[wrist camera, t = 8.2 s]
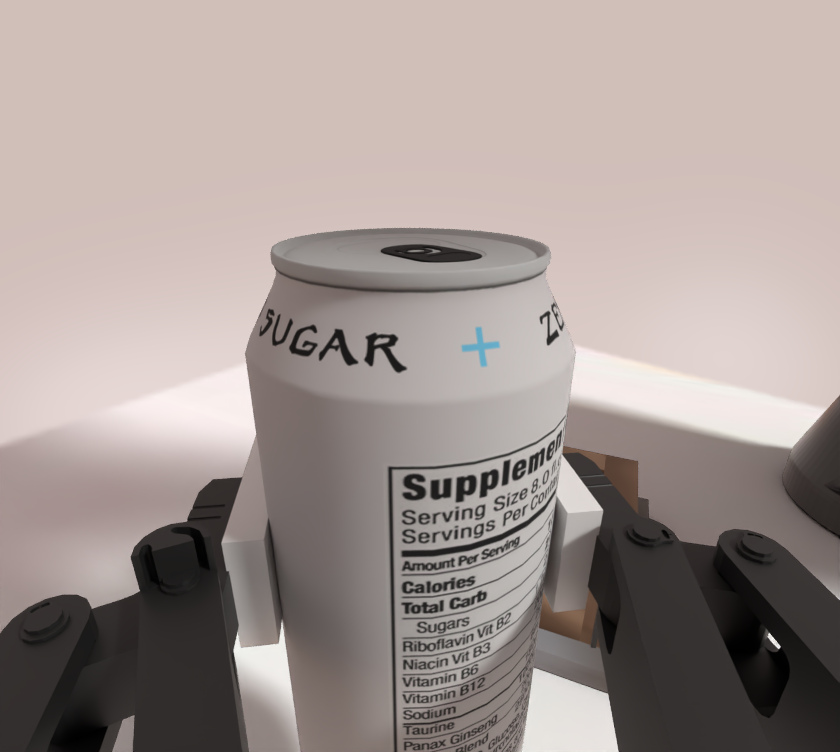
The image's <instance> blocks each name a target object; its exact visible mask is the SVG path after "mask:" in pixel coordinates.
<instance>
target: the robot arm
mask: <svg viewBox="0 0 840 752" xmlns="http://www.w3.org/2000/svg"><path fill="white" fill-rule="evenodd" d="M783 483H784V486H785V488H786V490H787V492H788V493H789V495H790V496H791V497H792V499H793V500H794V501H795V502H796V503H797V504H798V505H799V506H800V507H801V508H802V509H803V510H804V511H805V512H806V513H807V514H809V515H810V516H811V517H812V518H814V519H815V520H816V521H818V522H819V523H820V524H822V525H823V526H825V527H826V528H828V529H829V530H831V531H832V532H834V533H836V534H837V535H839V536H840V396H839V397H838V398H837V399H836V400H835V401H834V402H833V403H832V404H831V406H830V407H829V408H828V409H827V410H826V411H825V412H824V413H823V414H822V416H821V417H820V418H819V419H818V420H817V421H816V422H815V423H814V424H813V426H812V427H811V428H810V429H809V430H808V431H807V432H806V433H805V434H804V436H803V437H802V438H801V439H800V440H799V441H798V442H797V443H796V444H795V446H794V447H793V449H792V450H791V453H790V455H789V458H788V461H787V464H786V467H785V470H784V472H783ZM131 560H132V564H133V567H134V571H135V574H136V578H137V582H138V585H139V589H140V591H139V592H138V593H136V594H134V595H132V596H129V597H127V598H124V599H122V600H118V601H115V602H112V603H109V604H106V605H103V606H100V607H97V608H94V609H91V606H90V604H89V602H88V600H87V599H86V598H83V597H81V596H79V595H60V596H56V597H52V598H48V599H45V600H43V601H41V602H39V603H37V604H35V605H32V606H30V607H28V608H27V609H26V610H24V611H23V612H21V613H20V614H19V615H17V616H16V617H15V618H13V619H12V620H11V621H10V623H9V624H8V625H7V626H6V627H5V628H4V629H3V630H2V632H1V633H0V752H112V750H113V747H114V744H115V741H116V738H117V735H118V732H119V729H120V726H121V723H122V720H123V719H125V718H128V717H130V716H133V715H135V718H134V739H133V752H249V749H248V743H247V736H246V729H245V722H244V716H243V709H242V702H241V695H240V689H239V682H238V675H237V668H236V662H235V657H234V652H233V649H234V645H235V640H236V636H237V631H238V635H239V640H240V646H241V648H243V647H252V646H261V645H270V644H279V637H280V630H281V622H282V611H281V604H280V597H279V590H278V583H277V575H276V568H275V561H274V554H273V546H272V539H271V532H270V525H269V517H268V513H267V507H266V499H265V492H264V485H263V478H262V471H261V463H260V456H259V449H258V442H257V435H256V437H255V440H254V443H253V446H252V449H251V453H250V456H249V459H248V462H247V465H246V468H245V471H244V474H243V477H241V478H227V479H213V480H212V481H211V482H210V483H209V484H208V485H206V486H205V487H204V488H203V489H202V490H201V491H200V492H199V493H198V496H197V498H196V500H195V503H194V505H193V510H191V512H190V514H189V516H188V521H187V522H183V523H176V524H170V525H167V526H165V527H162V528H159V529H156V530H155V531H153V532H152V533H150V534H148V535H147V536H145V537H144V538H143V539H142V540H141V541H140V542H139V543H138V544H137V545H136V546H135V547H134V550H133V552H132V555H131ZM589 590H590V592H591V593H592V595H593V597H594V599H595V600H596V602H597V604H598V607H597V612H596V617H595V622H594V627H593V632H592V637H591V648H596V645H597V640H599V645H600V651H601V656H602V662H603V667H604V673H605V678H606V684H607V689H608V695H609V700H610V706H611V711H612V717H613V722H614V728H615V733H616V739H617V744H618V750H619V752H840V600H839V599H838V598H837V597H836V596H835V595H833V594H832V593H831V592H830V591H829V590H828V589H827V588H826V587H825V586H824V585H823V584H822V583H821V582H820V581H819V580H818V579H817V578H816V577H815V576H814V575H813V574H811V573H810V572H809V571H808V570H807V569H806V568H805V567H804V566H803V565H802V564H801V563H800V562H799V561H798V560H797V559H796V558H795V557H794V556H793V555H792V554H791V553H790V552H788V551H787V550H786V549H785V548H784V547H782V546H781V545H780V544H778V543H777V542H776V541H774V540H772V539H770V538H768V537H766V536H764V535H762V534H759V533H756V532H752V531H748V530H739V529H733V530H728V531H725V532H724V533H722V534H721V535H720V536H719V539H718V543H717V546H716V547H715V546H708V545H700V544H693V543H687V542H682V541H679V539H678V538H677V537H676V535H675V534H674V533H673V531H671V530H670V529H669V528H667V527H666V526H665V525H663V524H661V523H659V522H657V521H654V520H652V519H649V518H644V517H640V516H639V515H638V514H637V513H636V512H635V510H634V509H633V508H632V507H631V506H630V504H629V503H628V502H627V501H626V500H625V498H624V497H623V496H622V495H621V494H620V492H619V491H618V490H617V489H616V487H615V486H612V483H611V481H610V480H609V479H608V478H607V477H606V476H604V473H603V472H602V471H601V469H600V468H599V467H598V466H597V465H596V463H595V462H594V461H592V460H590V459H589V458H587V457H585V456H584V455H582V454H581V453H579V452H577V453H562V458H561V466H560V473H559V480H558V488H557V495H556V503H555V510H554V518H553V525H552V532H551V540H550V547H549V555H548V562H547V570H546V577H545V584H544V594H545V596H546V598H547V601H548V603H549V605H550V607H551V609H552V611H553V613H554V612H563V611H572V610H581V609H585V608H586V602H587V597H588V591H589ZM768 633H770V634H771V635H772V636H773V637H774V639H775V640H776V641H777V642H778V644H779V645H780V646H781V647H780V649H778V648H777V647H776V646H774V645H773V643H772V642H771V641H770V640H769V638H768V637H767V636H768Z"/></svg>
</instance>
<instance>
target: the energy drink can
mask: <svg viewBox="0 0 840 752" xmlns="http://www.w3.org/2000/svg"><path fill="white" fill-rule="evenodd" d="M550 258H551V252H550V250H549V247H548V246H546V245H544V244H543V243H541V242H538V241H535V240H532V239H528V238H523V237H519V236H513V235H507V234H500V233H492V232H483V231H471V230H455V229H431V228H384V229H360V230H346V231H334V232H326V233H317V234H311V235H305V236H300V237H295V238H291V239H287V240H284V241H282V242H279V243H277V244H276V245H274V246H273V247H272V249H271V261H272V264H273V265H274V267H275V269H276V277H275V280H274V283H273V286H272V288H271V290H270V293H269V295H268V297H267V299H266V302H265V304H264V306H263V308H262V311H261V313H260V315H259V317H258V319H257V322H256V324H255V326H254V329H253V331H252V333H251V335H250V338H249V342H248V345H247V349H246V353H245V356H246V363H247V370H248V377H249V384H250V392H251V399H252V406H253V413H254V420H255V427H256V435H257V442H258V449H259V456H260V463H261V471H262V478H263V485H264V492H265V499H266V507H267V513H268V517H269V525H270V532H271V539H272V546H273V554H274V561H275V568H276V575H277V583H278V590H279V597H280V604H281V611H282V621H283V629H284V636H285V643H286V650H287V657H288V665H289V672H290V679H291V686H292V693H293V701H294V708H295V715H296V722H297V729H298V736H299V744H300V751H301V752H522V748H523V740H524V733H525V726H526V718H527V711H528V703H529V696H530V688H531V681H532V674H533V666H534V659H535V651H536V644H537V636H538V629H539V622H540V614H541V607H542V599H543V592H544V584H545V577H546V570H547V562H548V555H549V547H550V540H551V532H552V525H553V518H554V510H555V503H556V495H557V488H558V480H559V473H560V466H561V458H562V451H563V443H564V436H565V428H566V421H567V414H568V406H569V399H570V391H571V384H572V376H573V369H574V362H575V354H576V351H575V348H574V345H573V342H572V339H571V336H570V333H569V331H568V329H567V326H566V324H565V322H564V320H563V317H562V315H561V313H560V311H559V308H558V306H557V304H556V302H555V300H554V297H553V295H552V293H551V290H550V288H549V286H548V283H547V280H546V268H547V266H548V265H549V263H550Z"/></svg>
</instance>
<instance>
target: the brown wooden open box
mask: <svg viewBox="0 0 840 752" xmlns="http://www.w3.org/2000/svg"><path fill="white" fill-rule="evenodd" d="M577 452H579V453H581V454H582V455H584V456H585V457H587V458H589V459H590V460H592V461H594V462H595V463H596V465H597V466H598V467H599V468H600V469H601V471H602V472H603V473H604V476H606V477H607V478H608V479H609V480H610V481H611V483H612V486H615V487H616V489H617V490H618V491H619V492H620V494H621V495H622V496H623V497H624V498H625V500H626V501H627V502H628V503H629V504H630V506H631V507H632V508H633V509H634V510H635V512H636V513H637V514H638V515H639V516H640V517H644V518H649V510H648V499H644V498H639V497H638V461H634V460H629V459H624V458H619V457H614V456H609V455H604V454H599V453H594V452H589V451H584V450H579V449H574V448H569V447H564V446H563V451H562V453H577ZM597 607H598V604H597V602H596V600H595V599H594V597H593V595H592V593H591V592H590V590H589V591H588V597H587V602H586V608H585V609H581V610H572V611H563V612H554V613H553V611H552V609H551V607H550V605H549V603H548V601H547V598H546V596H545V594H544V592H543V599H542V607H541V614H540V622H539V629H538V636H537V644H536V651H535V659H534V666H533V667H536V668H539V669H542V670H544V671H547V672H550V673H553V674H556V675H559V676H561V677H564V678H567V679H570V680H573V681H575V682H578V683H581V684H584V685H587V686H589V687H592V688H595V689H598V690H601V691H604V692H606V693H608V689H607V684H606V678H605V673H604V667H603V662H602V656H601V651H600V645H599V640H597V645H596V648H591V637H592V632H593V627H594V622H595V617H596V612H597Z"/></svg>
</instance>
